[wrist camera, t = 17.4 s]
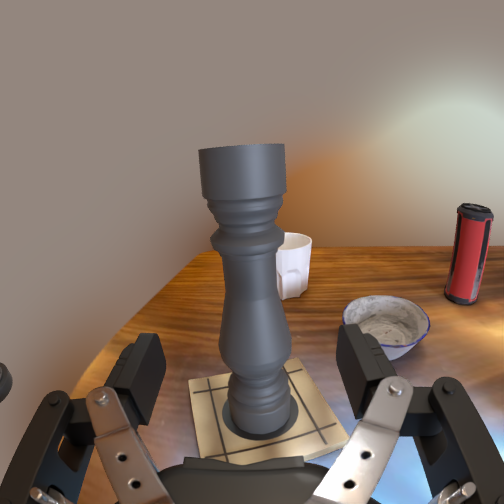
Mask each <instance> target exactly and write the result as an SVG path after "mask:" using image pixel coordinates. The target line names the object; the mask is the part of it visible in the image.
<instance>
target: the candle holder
mask: <svg viewBox="0 0 504 504" xmlns="http://www.w3.org/2000/svg"><path fill="white" fill-rule="evenodd" d="M198 151H199V164H200V175H201V186H202V196H203V197H204V198H205V199H207V201H208V204H207V206H208V208H209V210H210V211H211V213H212V214H213V215H214V218H215V220H216V222H217V223H219V228H218V229H217V230H216V232H215V233H214V234H213V235H212V236H211V237H210V240H211V244H212V246H213V248H214V250H216V251H218V252H219V254H220V256H221V257H222V262H223V271H224V280H225V289H226V293H225V300H224V308H223V315H222V323H221V330H220V337H219V350H220V353H221V357H222V359H223V361H224V363H225V364H226V365H227V366H228V367H229V368H230V369H231V370H232V371H233V372H232V373H231V375H230V377H229V381H228V387H229V389H228V392H227V397H228V403H229V408H230V413H231V416H232V420H233V422H234V423H235V424H236V425H237V426H238V427H239V428H240V429H241V430H244V431H246V432H248V433H251V434H266V433H270V432H274V431H276V430H277V429H279V428H280V427H282V426H283V425H285V423H286V421H287V420H288V418H289V416H290V394H291V388H290V386H289V384H288V376H287V375H286V373H285V371H284V370H283V369H282V367H283V365H284V364H285V362H286V361H287V360H288V358H289V356H290V354H291V339H292V338H291V334H290V331H289V327H288V324H287V320H286V317H285V313H284V310H283V306H282V303H281V299H280V296H279V292H278V289H277V273H276V253H277V252H278V248H279V247H280V246H281V245H283V244H284V238H285V232H284V231H283V230H282V229H281V228H280V227H278V226H277V225H275V224H274V220H275V219H276V218H277V214H278V210H279V209H280V208H281V206H282V204H283V198H282V195H283V194H284V193H286V169H285V149H284V144H254V145H238V146H226V147H216V148H207V149H200V150H198Z"/></svg>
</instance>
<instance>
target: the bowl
mask: <svg viewBox="0 0 504 504" xmlns="http://www.w3.org/2000/svg"><path fill="white" fill-rule="evenodd" d="M342 321H343V324H344V325H346V324H354V323H357V324H358V325H359V327H360V329H361V331H362V333H370V334H371V335H372V336H374V337H375V338H376V339H377V340H378V342H379V343H380V345H381V348H382V349H383V350H384V352H385V354H386V356H387V358H388V359H389V360H394V359H396V358H399V357H400V356H402V355H403V354H405V353H406V352H407V351H409V350H410V349H411V348H412V347H413V346H414V345H416V344H417V343H418V342H419V341H420V340H422V339H423V338H424V337H425V336H426V334H427V333H428V331H429V328H430V321H429V317H428V316H427V314H426V313H425V312H424V311H423V309H421V307H419V306H418V305H416V304H414V303H412V302H410V301H408V300H406V299H404V298H401V297H400V298H399V297H394V296H368V297H361V298H358V299H356V300H353V301H352V302H350V303H349V304H348V305H347V306H346V307H345V309H344V311H343V315H342Z"/></svg>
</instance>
